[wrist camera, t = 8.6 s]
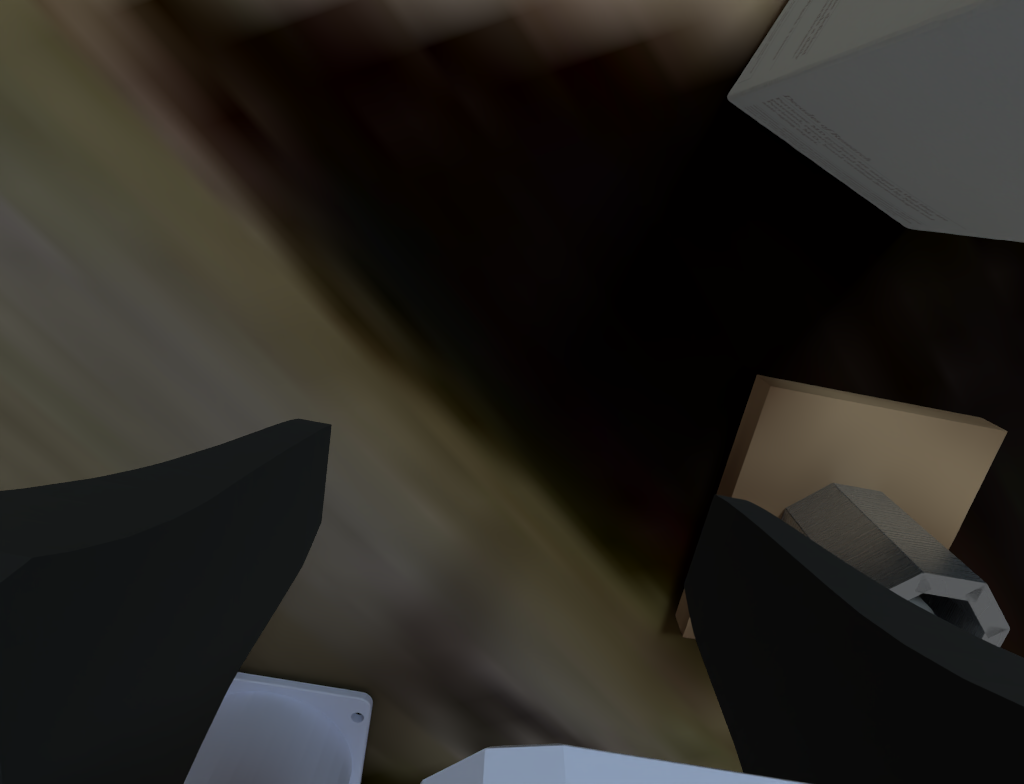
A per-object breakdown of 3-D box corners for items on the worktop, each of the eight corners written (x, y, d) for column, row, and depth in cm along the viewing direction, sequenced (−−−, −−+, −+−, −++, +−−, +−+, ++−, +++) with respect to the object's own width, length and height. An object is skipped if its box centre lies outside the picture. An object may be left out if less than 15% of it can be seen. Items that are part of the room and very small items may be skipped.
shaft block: (871, 648, 25) (965, 775, 19) (675, 615, 24) (717, 736, 19) (981, 417, 21) (1129, 496, 16) (756, 374, 21) (834, 440, 16)
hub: (870, 599, 22) (963, 712, 18) (757, 580, 22) (821, 689, 17) (916, 497, 21) (1031, 591, 16) (797, 476, 21) (877, 564, 16)
